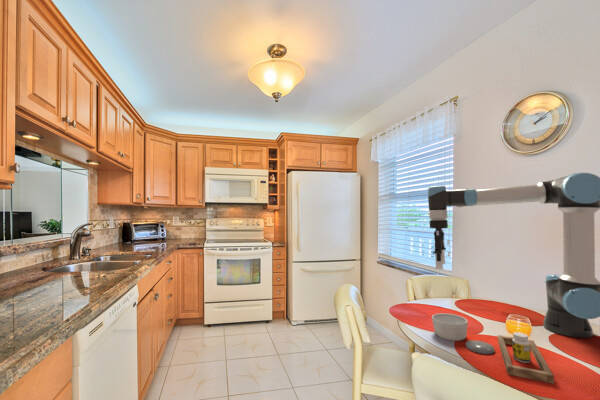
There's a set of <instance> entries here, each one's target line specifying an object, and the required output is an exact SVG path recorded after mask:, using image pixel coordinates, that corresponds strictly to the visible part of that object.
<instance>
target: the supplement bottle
mask: <svg viewBox="0 0 600 400" xmlns="http://www.w3.org/2000/svg"><path fill="white" fill-rule="evenodd" d="M512 336H513V339H512V345H511V346H512V357H513V359H514V360H516V361H517V362H520V363H525V364H526V363H531V360H532V358H531V350H530V343H529V341H528V340H529V336H528V335H527V334H526V333H523V332H518V331H515V332H513V334H512Z"/></svg>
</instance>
